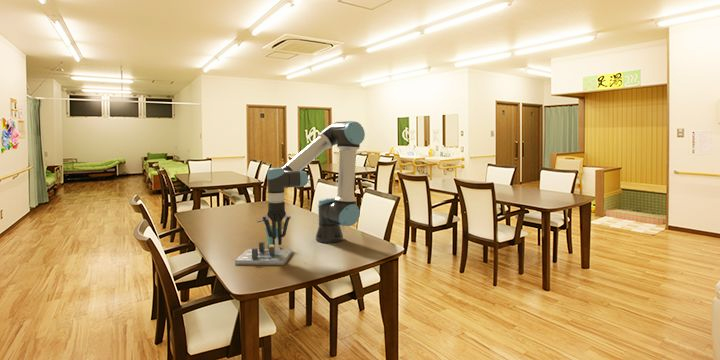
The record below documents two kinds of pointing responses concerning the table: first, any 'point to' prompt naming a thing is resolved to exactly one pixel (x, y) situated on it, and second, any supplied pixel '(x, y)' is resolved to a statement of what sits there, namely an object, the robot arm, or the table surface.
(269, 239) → the cup
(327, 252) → the table surface
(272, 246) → the block
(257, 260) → the panel
